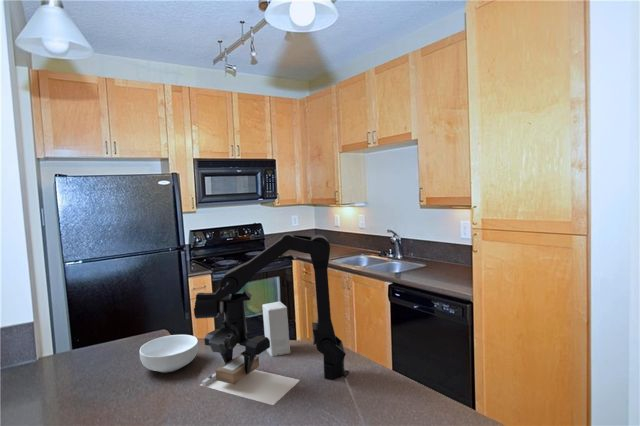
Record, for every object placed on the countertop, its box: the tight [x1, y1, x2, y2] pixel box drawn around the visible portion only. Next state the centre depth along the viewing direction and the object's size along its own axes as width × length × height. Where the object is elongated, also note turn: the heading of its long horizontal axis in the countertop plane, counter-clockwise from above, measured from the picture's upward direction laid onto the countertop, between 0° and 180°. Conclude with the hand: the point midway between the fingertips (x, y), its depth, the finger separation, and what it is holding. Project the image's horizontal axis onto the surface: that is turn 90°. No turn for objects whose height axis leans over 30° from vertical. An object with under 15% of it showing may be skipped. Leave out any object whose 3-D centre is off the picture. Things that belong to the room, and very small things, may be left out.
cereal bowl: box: [139, 334, 199, 373], centre depth 117 cm, size 17×17×7 cm
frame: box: [215, 353, 260, 385], centre depth 105 cm, size 11×6×3 cm, turn 153°
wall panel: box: [200, 369, 301, 406], centre depth 104 cm, size 13×24×2 cm, turn 63°
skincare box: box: [261, 301, 291, 357], centre depth 124 cm, size 8×7×16 cm
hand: (238, 371), depth 105 cm, fingers closed on frame, 6 cm apart
